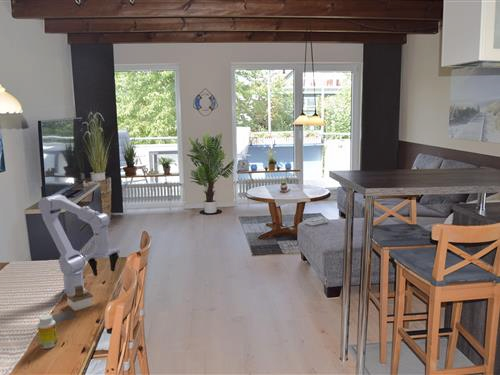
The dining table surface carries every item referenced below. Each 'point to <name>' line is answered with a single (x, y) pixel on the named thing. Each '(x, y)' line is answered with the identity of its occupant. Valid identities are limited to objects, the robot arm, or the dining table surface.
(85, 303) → the dish
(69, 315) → the mat
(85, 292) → the lid
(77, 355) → the dining table surface
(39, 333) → the supplement bottle
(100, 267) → the dining table surface
